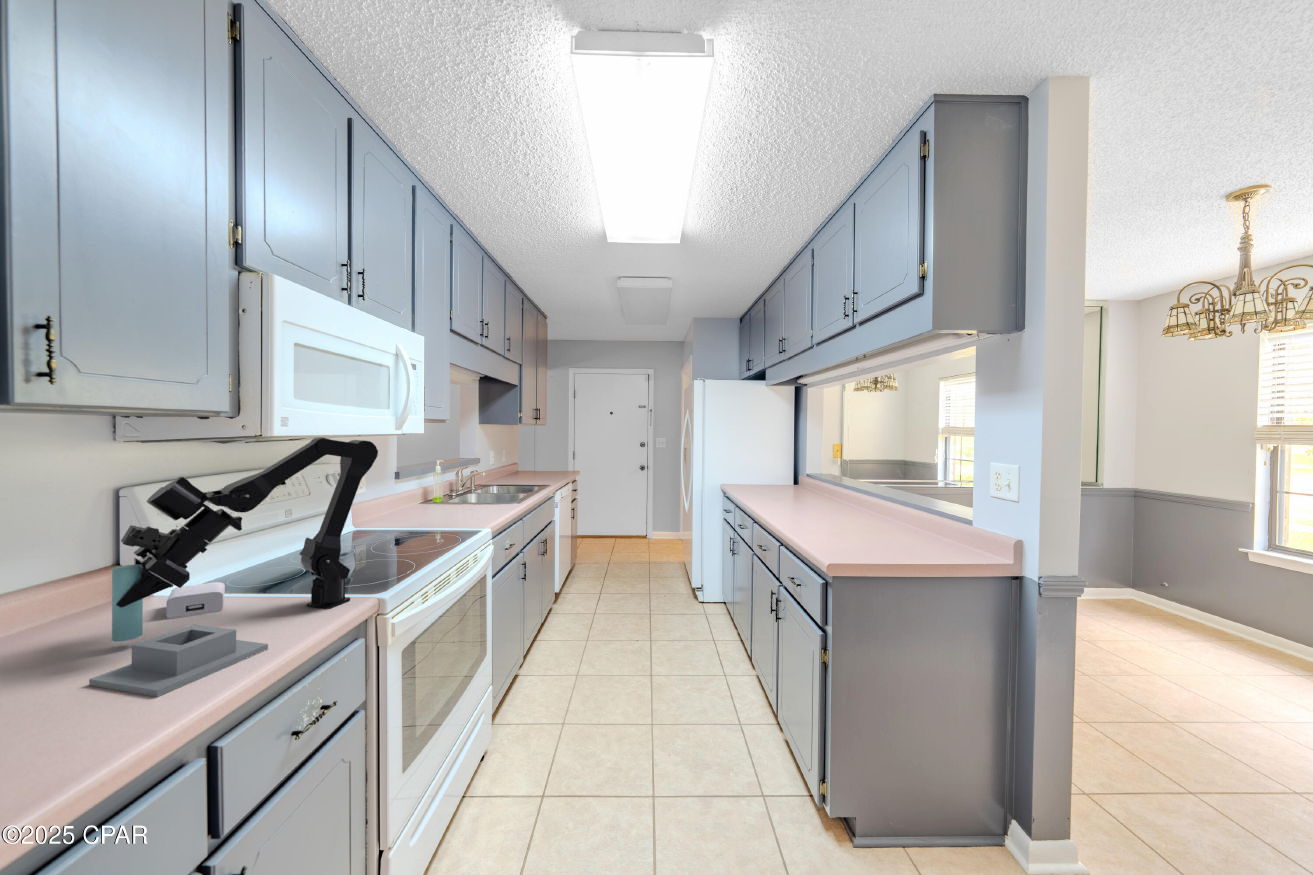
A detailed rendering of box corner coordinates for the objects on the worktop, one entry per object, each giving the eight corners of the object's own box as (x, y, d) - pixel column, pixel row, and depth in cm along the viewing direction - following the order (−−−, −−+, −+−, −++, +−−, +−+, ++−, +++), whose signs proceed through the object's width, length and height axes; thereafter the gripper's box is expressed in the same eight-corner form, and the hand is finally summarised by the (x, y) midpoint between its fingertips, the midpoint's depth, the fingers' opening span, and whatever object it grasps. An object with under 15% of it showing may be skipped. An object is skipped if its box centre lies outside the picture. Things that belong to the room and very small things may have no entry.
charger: (225, 594, 129) (222, 611, 117) (174, 600, 123) (166, 620, 111) (225, 574, 129) (222, 590, 117) (175, 580, 123) (166, 598, 111)
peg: (132, 631, 99) (132, 563, 99) (148, 633, 99) (148, 565, 98) (106, 639, 95) (106, 569, 95) (122, 642, 95) (122, 570, 94)
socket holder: (208, 641, 101) (208, 615, 100) (267, 649, 98) (268, 622, 97) (89, 685, 83) (89, 653, 83) (157, 696, 80) (157, 664, 80)
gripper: (149, 504, 106) (67, 569, 97) (165, 515, 94) (73, 590, 85) (200, 537, 112) (127, 600, 103) (221, 551, 100) (141, 624, 92)
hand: (116, 603), depth 96 cm, fingers closed on peg, 4 cm apart
